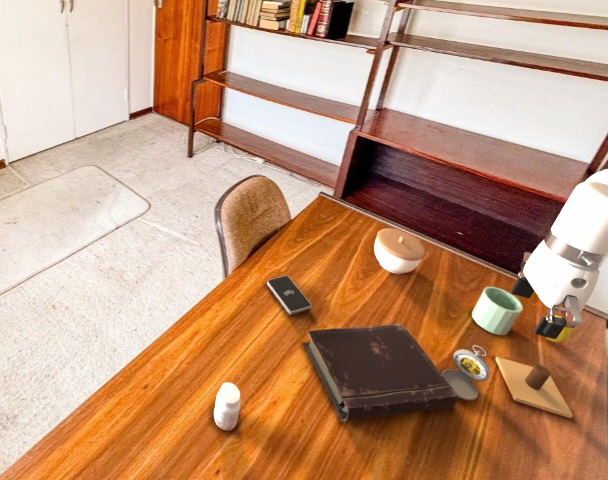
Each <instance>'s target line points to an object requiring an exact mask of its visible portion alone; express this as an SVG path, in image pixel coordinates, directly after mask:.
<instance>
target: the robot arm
mask: <svg viewBox="0 0 608 480" xmlns="http://www.w3.org/2000/svg"><path fill="white" fill-rule="evenodd" d="M607 258H608V168H606V169H602V170H600V171H598V172H595V173H594V174H592V175H591V176H589V177H588V178H587V179H586V180H585V181H583V182H580V183H579V184H577V185H576V186H575V187H574V189H573V190H572V192H571V194H570V195H569V197H568V199H567V200H566V202H565V204H564V206H563V207H562V209H561V211H560V213H559V214H558V216H557V218H556V219H555V221H554V223H553V224H552V226H551V227H550V229H549V230H548V232H547V234H546V236H545V238H544V239H543V240H542V241H541V242H540V243H539V244H538V245H537V247H536V248H535V250H534V251H533V252H528V251H524V253H523V259H522V261H521V263H520V271H519V272H518V273H517V276H518V278H517V279H516V281H515V282H514V284H513V286H512V288H511V289H510V294H512V295H513V296H518V297H521V298H526V299H531V298H532V296H533V294H534V292H535V293H536V294H537V296H538V298H539V299H540V301H541V303H543V304H544V306H546V316H547V317H545V316H542V318H541V319H540V321H539V322H538V323H537V325H536V327H535V328H534V329H533V332H534V334H535V335H537V336H541V337H544V338H545V337H548V338H551V339H556V338H557V337H558V336H559V334H560V333H561V331H562V330H563V329H564V327H567V328H568V327H570V328H572V329H574V328H575V327H578V326H581V325H583V317H582V314H581V312H582V311H583V309H584V308H585V306H587V303H588V301H589V299H590V298H591V296H592V294H593V292H594V290H595V287H596V286H597V283H598V280H599V276H600V269H599V268H600V267H601V266H602V264H603V263H604V261H605V260H606V259H607ZM560 304H562V306H558V305H560ZM556 310H557V311H561V315H560V316H561V318H560V317H555V315H556Z"/></svg>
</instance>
